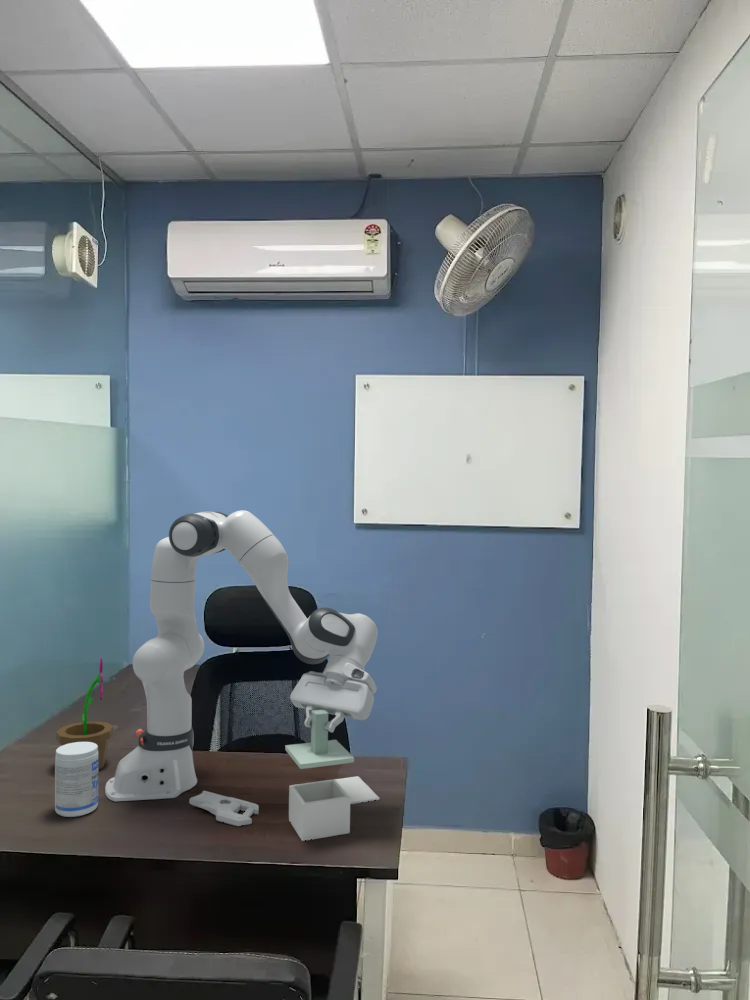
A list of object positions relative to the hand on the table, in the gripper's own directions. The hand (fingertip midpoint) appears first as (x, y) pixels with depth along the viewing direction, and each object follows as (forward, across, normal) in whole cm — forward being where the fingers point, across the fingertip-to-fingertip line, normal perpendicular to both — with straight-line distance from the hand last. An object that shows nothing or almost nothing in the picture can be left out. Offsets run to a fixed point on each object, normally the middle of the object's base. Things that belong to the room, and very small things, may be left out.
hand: (318, 728), depth 166 cm
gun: (+20, -23, +13) cm, 33 cm away
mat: (+2, -5, +30) cm, 30 cm away
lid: (+5, 0, +6) cm, 7 cm away
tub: (+15, 0, +16) cm, 22 cm away
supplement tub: (+32, -54, +2) cm, 62 cm away
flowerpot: (+18, -74, +15) cm, 78 cm away
